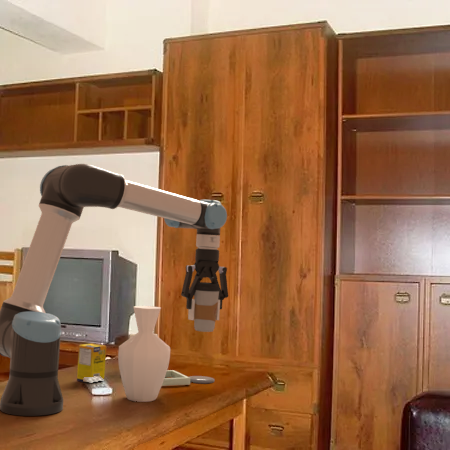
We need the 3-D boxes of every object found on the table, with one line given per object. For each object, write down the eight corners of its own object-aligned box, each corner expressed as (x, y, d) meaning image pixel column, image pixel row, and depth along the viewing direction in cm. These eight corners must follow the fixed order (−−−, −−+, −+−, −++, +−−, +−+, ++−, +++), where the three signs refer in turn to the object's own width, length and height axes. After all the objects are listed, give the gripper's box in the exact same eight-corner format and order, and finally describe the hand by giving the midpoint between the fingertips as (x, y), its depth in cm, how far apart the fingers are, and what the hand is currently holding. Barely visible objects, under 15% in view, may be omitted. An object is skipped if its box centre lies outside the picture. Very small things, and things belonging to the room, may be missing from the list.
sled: (150, 386, 206) (152, 345, 206) (122, 370, 228) (124, 334, 228) (190, 384, 212) (192, 345, 212) (159, 369, 234) (161, 333, 234)
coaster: (193, 384, 214) (193, 382, 214) (181, 378, 222) (181, 376, 222) (219, 382, 219) (219, 380, 219) (206, 377, 227) (206, 375, 227)
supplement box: (104, 381, 211) (106, 345, 211) (90, 384, 206) (93, 347, 206) (90, 378, 214) (92, 342, 214) (76, 381, 209) (78, 344, 209)
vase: (155, 406, 182) (161, 311, 183) (106, 400, 186) (112, 306, 187) (175, 396, 196) (180, 307, 197) (129, 390, 200) (134, 303, 201)
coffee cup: (214, 333, 215) (217, 284, 216) (188, 330, 217) (191, 282, 217) (219, 330, 223) (222, 283, 224) (194, 327, 225) (197, 281, 225)
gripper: (182, 247, 213) (178, 321, 213) (242, 250, 223) (238, 321, 223) (172, 246, 220) (168, 318, 219) (231, 249, 230) (227, 318, 229)
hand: (203, 319), depth 221 cm, fingers closed on coffee cup, 8 cm apart
